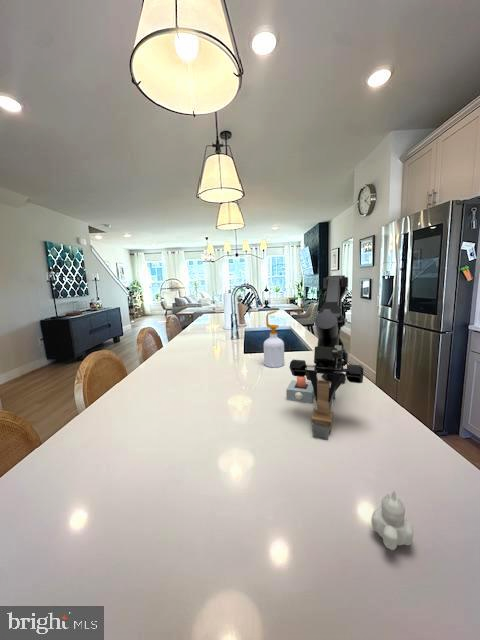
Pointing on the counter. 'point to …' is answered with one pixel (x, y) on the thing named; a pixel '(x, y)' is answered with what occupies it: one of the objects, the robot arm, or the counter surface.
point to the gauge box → (300, 392)
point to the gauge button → (301, 382)
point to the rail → (322, 426)
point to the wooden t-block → (322, 405)
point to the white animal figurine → (392, 522)
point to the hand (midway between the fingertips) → (322, 401)
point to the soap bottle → (273, 347)
